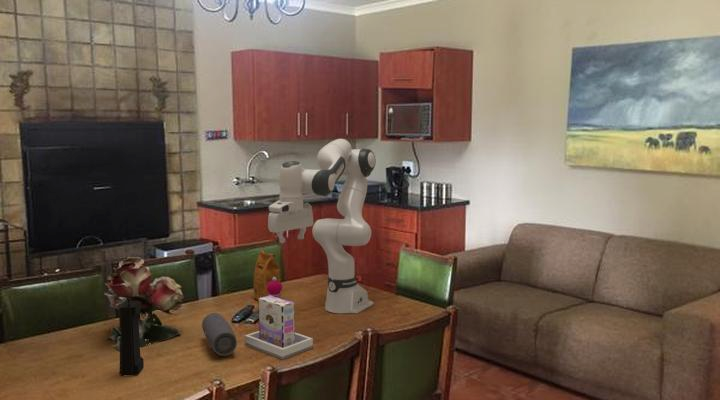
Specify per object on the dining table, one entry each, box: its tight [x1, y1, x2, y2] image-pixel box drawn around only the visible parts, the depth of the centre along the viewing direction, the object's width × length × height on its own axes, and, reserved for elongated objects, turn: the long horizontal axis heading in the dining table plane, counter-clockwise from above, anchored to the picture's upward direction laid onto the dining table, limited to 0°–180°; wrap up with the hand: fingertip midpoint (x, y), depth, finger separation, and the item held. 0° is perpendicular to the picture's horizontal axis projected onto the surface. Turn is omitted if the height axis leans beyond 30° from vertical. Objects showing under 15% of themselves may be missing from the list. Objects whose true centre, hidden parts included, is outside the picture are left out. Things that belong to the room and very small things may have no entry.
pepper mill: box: [267, 277, 283, 299], centre depth 240 cm, size 7×7×20 cm
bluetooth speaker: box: [201, 312, 238, 357], centre depth 218 cm, size 23×9×10 cm, turn 23°
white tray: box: [244, 330, 314, 361], centre depth 220 cm, size 14×20×4 cm
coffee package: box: [253, 249, 281, 301], centre depth 275 cm, size 10×12×22 cm
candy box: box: [257, 295, 296, 348], centre depth 218 cm, size 14×6×16 cm, turn 46°
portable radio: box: [118, 299, 145, 377], centre depth 197 cm, size 8×6×25 cm
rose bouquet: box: [103, 256, 185, 352], centre depth 230 cm, size 26×29×30 cm
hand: (291, 240), depth 233 cm, fingers open, 8 cm apart
